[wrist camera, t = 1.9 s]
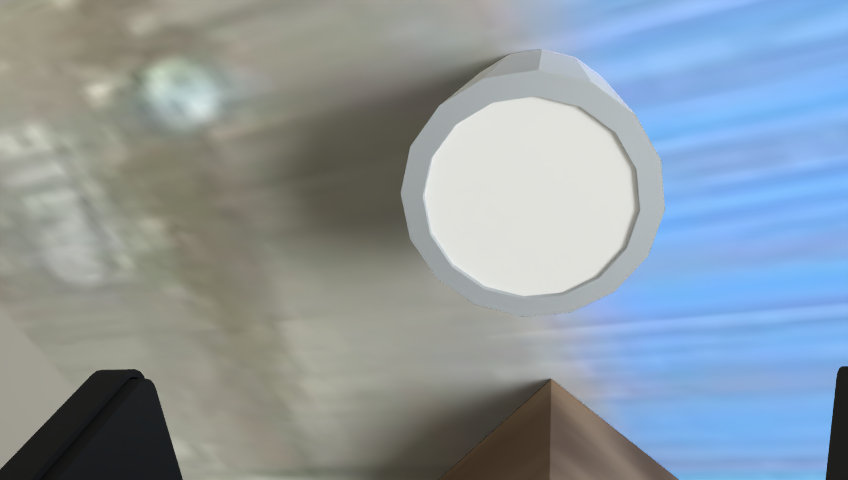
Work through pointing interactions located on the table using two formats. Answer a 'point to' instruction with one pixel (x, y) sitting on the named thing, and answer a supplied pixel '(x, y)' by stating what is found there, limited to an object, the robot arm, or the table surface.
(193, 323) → the table surface
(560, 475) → the display riser
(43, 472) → the robot arm
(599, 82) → the white short cylinder
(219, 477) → the table surface
